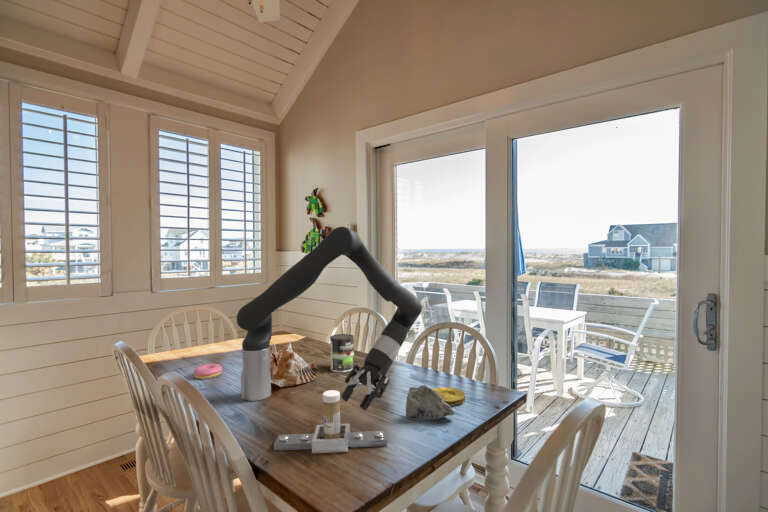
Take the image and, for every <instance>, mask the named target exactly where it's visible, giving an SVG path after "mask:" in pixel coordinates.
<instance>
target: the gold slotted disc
mask: <svg viewBox="0 0 768 512" xmlns="http://www.w3.org/2000/svg"><path fill="white" fill-rule="evenodd" d="M432 390H434V391H436V392H437V393H438V394H439V395H440V396H441V397H442V400H443V401H444V402H445V403H446V404H448V405H450V406H456V405H459V404H461V405H463V404H465V402H466V394H465V392H464V391H463V390H461V389H458V388H456V387H448V386H446V387H445V386H443V387H435V388H432Z"/></svg>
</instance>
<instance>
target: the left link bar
mask: <svg viewBox="0 0 768 512" xmlns="http://www.w3.org/2000/svg"><path fill="white" fill-rule="evenodd" d="M314 433H315V432H314ZM314 433H294V434H293V433H292V434H291V433H290V434H278V435H277V438H276V440H275V441H274V443H273V452H274V451H276V450H278V451H298V450H312V439H313V436H314Z"/></svg>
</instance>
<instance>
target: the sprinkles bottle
mask: <svg viewBox="0 0 768 512" xmlns="http://www.w3.org/2000/svg"><path fill="white" fill-rule="evenodd" d="M340 401H341V393H340V391H339V390H335V389H329V390H326V391H324V392H322V402H323V405H322V406H323V425H324V437H323V439H335V438H341V436H340V424H341V408H340V407H341V405H340Z"/></svg>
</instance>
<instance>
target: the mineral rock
mask: <svg viewBox="0 0 768 512" xmlns="http://www.w3.org/2000/svg"><path fill="white" fill-rule="evenodd" d="M405 402H406V403H405V405H406V406H405V418H406V419H408V420H410V419H413V420H439V419H442V418H445V417H448V416H454V415H455V414H456V413H455V411H454V410H453V407H452V405H448V404H446V403H445V402H444V401H443V400H442V397H441V396H440V395H439V394H438V393H437V392H436V391H434V390H433V388H431V387H428V386H427V385H425V384H423V385H420V386H418V387H417V386H416V387H415V386H410V387H409V389H408V392H407V396H406V401H405Z"/></svg>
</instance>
